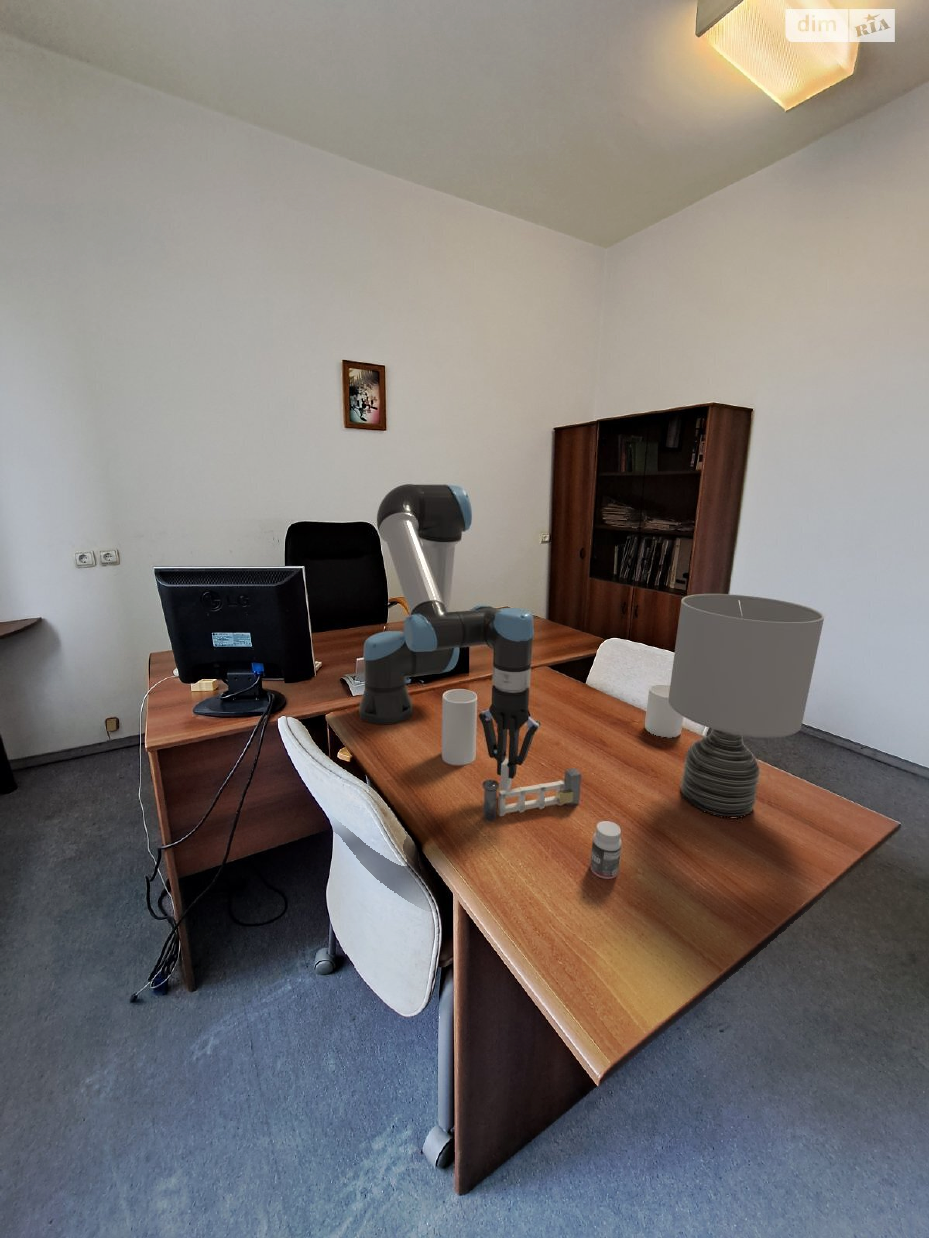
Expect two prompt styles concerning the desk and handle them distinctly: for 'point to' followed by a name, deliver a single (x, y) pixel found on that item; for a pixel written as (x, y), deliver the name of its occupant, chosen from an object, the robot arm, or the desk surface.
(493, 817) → the hinge post
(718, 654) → the lamp
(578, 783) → the grey upright block
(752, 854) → the desk surface
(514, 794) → the gate
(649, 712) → the mug
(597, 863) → the pill bottle
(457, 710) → the cup
